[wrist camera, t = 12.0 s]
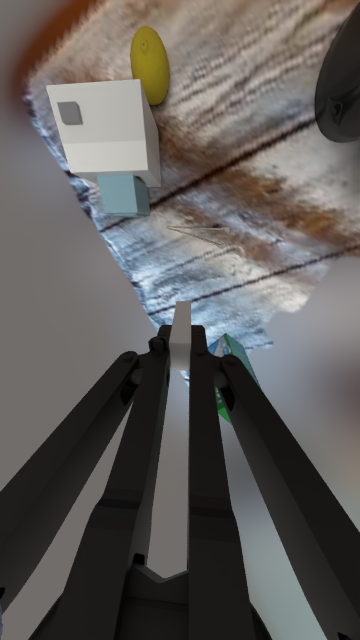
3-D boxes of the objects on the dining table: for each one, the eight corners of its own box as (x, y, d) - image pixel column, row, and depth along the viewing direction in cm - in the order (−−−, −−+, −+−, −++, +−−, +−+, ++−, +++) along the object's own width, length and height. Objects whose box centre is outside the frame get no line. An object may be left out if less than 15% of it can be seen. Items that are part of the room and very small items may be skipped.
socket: (158, 131, 28) (137, 73, 18) (161, 187, 33) (146, 168, 22) (96, 134, 29) (40, 80, 18) (107, 188, 33) (67, 171, 23)
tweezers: (230, 227, 36) (231, 227, 35) (223, 248, 39) (224, 249, 37) (158, 213, 37) (156, 213, 35) (157, 235, 39) (155, 236, 38)
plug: (145, 169, 31) (129, 149, 23) (150, 217, 36) (137, 215, 27) (117, 170, 32) (91, 150, 23) (125, 217, 36) (105, 215, 28)
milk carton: (225, 333, 52) (249, 407, 31) (243, 346, 55) (276, 422, 34) (207, 347, 56) (217, 422, 35) (224, 359, 59) (243, 435, 38)
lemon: (158, 50, 24) (145, -18, 17) (178, 97, 26) (174, 52, 19) (133, 85, 26) (112, 35, 19) (153, 125, 28) (142, 94, 21)
